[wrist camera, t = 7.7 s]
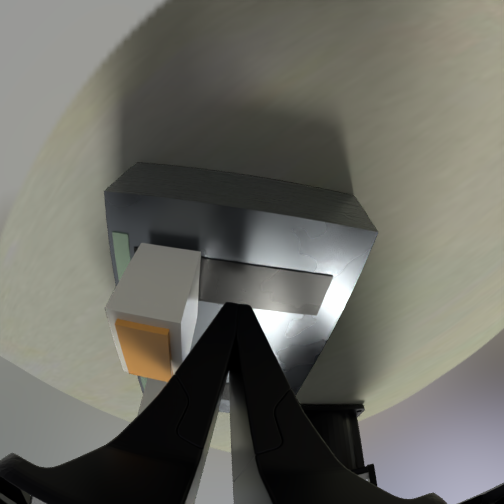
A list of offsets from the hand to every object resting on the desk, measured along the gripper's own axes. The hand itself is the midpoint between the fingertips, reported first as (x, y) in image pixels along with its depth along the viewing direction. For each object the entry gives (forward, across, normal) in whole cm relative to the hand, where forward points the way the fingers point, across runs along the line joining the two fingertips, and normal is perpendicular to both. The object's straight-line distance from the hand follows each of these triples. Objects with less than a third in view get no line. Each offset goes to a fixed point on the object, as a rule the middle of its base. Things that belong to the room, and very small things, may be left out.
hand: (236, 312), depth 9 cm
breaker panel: (+4, 0, +4) cm, 6 cm away
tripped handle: (+1, +2, 0) cm, 3 cm away
